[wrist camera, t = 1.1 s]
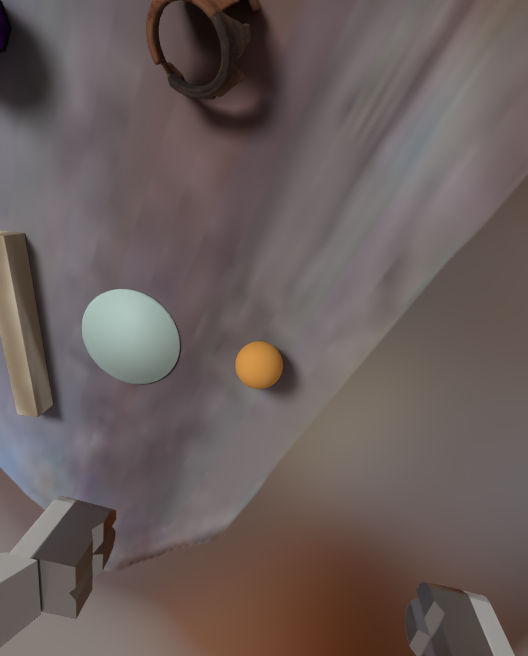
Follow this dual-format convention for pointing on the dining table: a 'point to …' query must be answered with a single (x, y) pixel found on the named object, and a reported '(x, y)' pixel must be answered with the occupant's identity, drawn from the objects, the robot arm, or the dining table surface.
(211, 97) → the pottery mug
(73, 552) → the robot arm
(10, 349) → the wall
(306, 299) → the dining table surface
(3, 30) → the potion bottle
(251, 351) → the ball
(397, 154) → the dining table surface
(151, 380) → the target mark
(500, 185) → the dining table surface
